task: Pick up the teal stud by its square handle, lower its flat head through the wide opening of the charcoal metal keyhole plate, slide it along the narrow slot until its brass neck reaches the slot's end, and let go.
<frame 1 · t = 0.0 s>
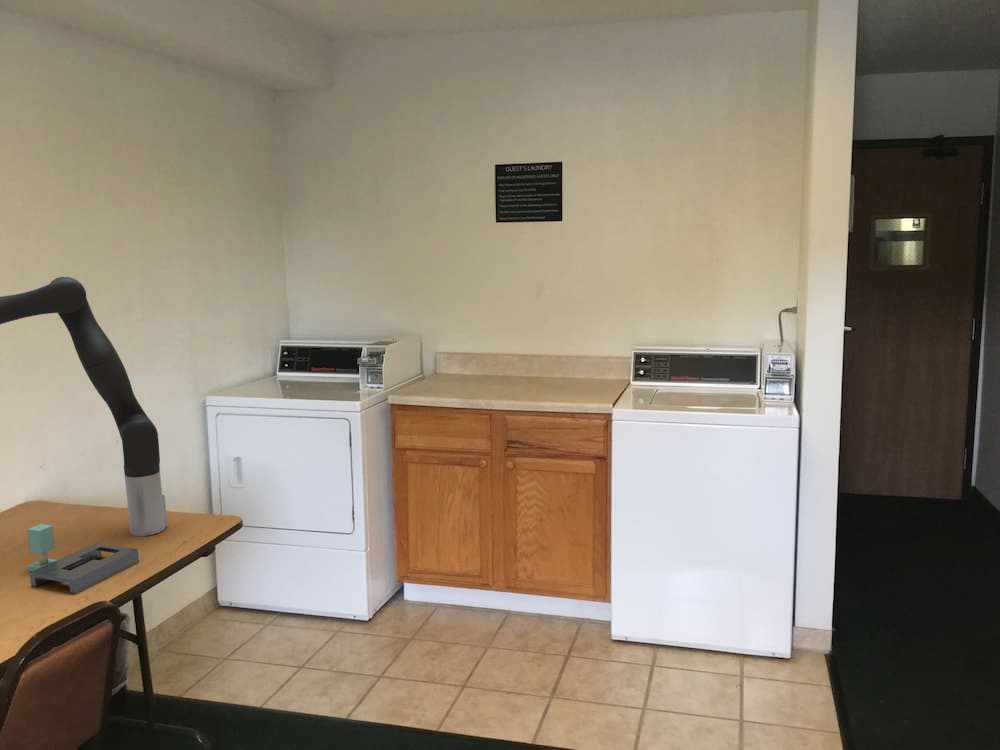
teal stud: (44, 568, 209), on the table
keyhole plate: (86, 573, 205), on the table
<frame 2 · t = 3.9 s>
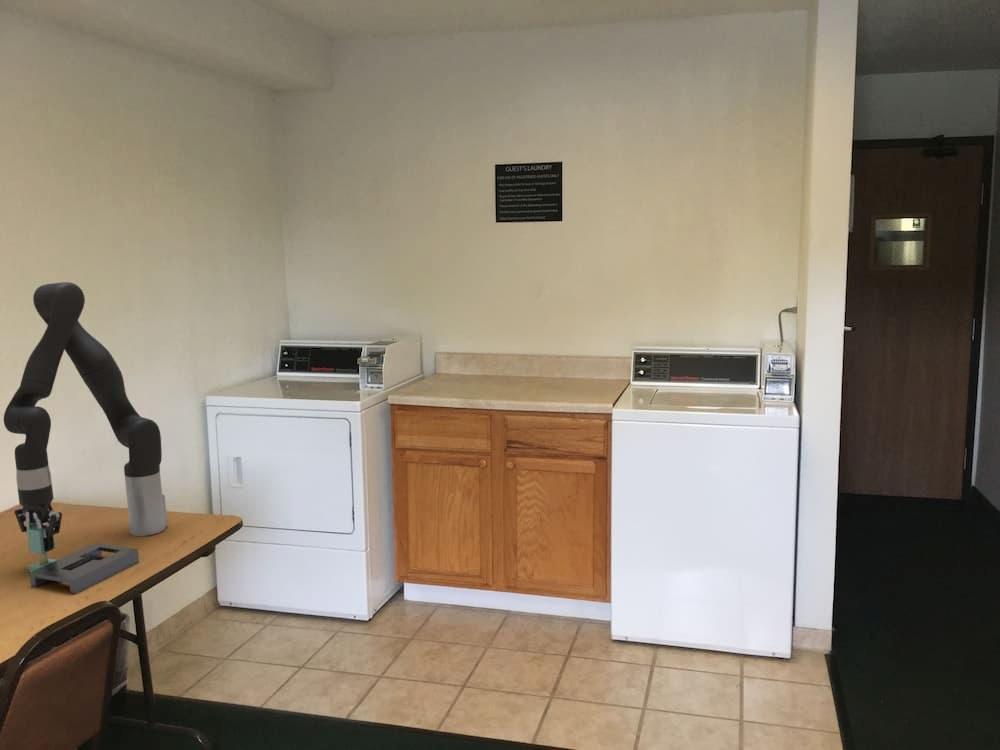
hand: (42, 548, 208), 5 cm above the table, tool pointing down, fingers closed on teal stud, 4 cm apart
teal stud: (44, 568, 209), on the table, touching gripper
when the fingers open (5 cm above the table, at t = 12.2 s): teal stud stays where it is, resting in keyhole plate.
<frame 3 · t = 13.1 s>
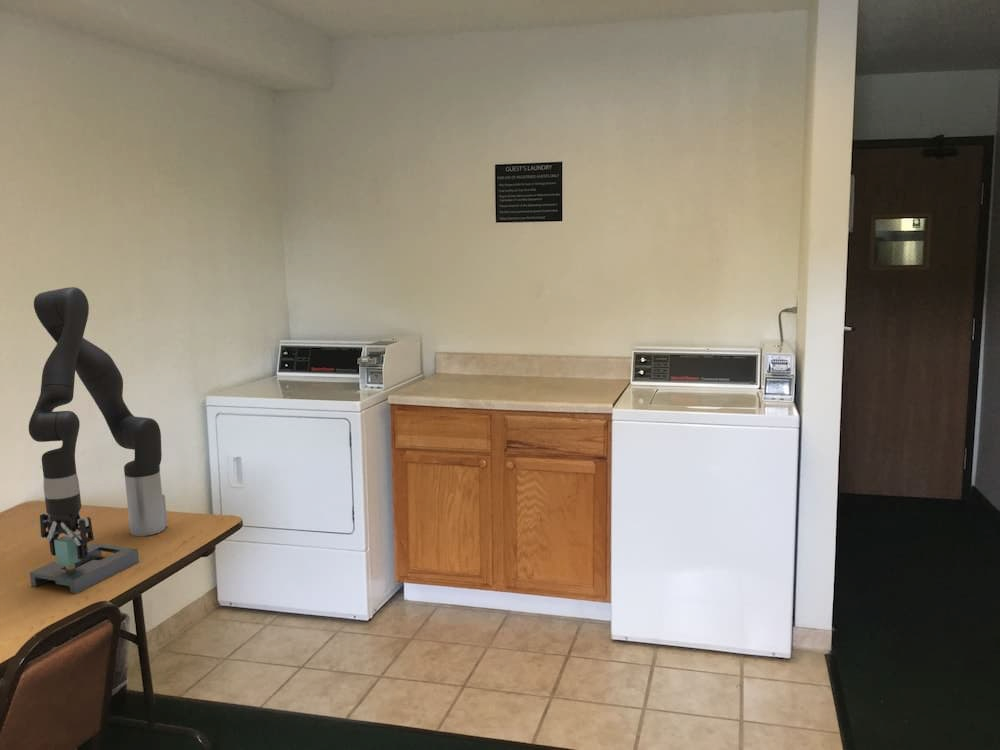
hand: (69, 556, 200), 6 cm above the table, tool pointing down, fingers open, 8 cm apart
teal stud: (72, 580, 201), resting in keyhole plate
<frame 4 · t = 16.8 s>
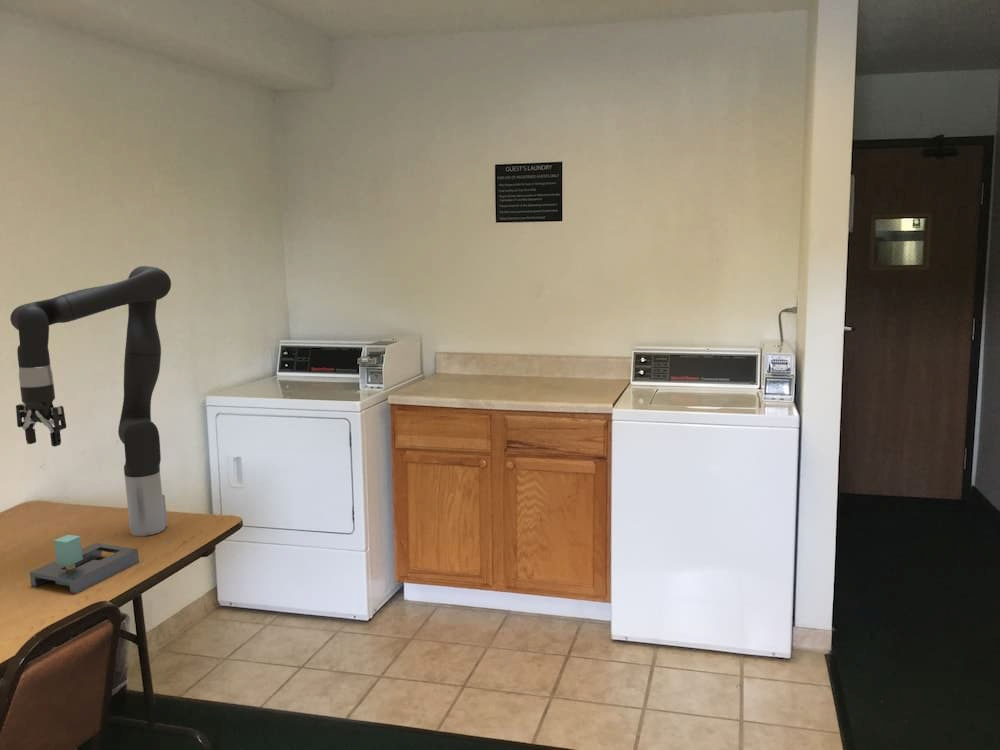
hand: (43, 444, 213), 30 cm above the table, tool pointing down, fingers open, 8 cm apart
nothing on the table moved.
at the end: teal stud 0.0 cm from the target spot on the keyhole plate, point 0.0 cm above the keyhole plate's base; teal stud tilted 0°; the gripper is holding nothing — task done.
